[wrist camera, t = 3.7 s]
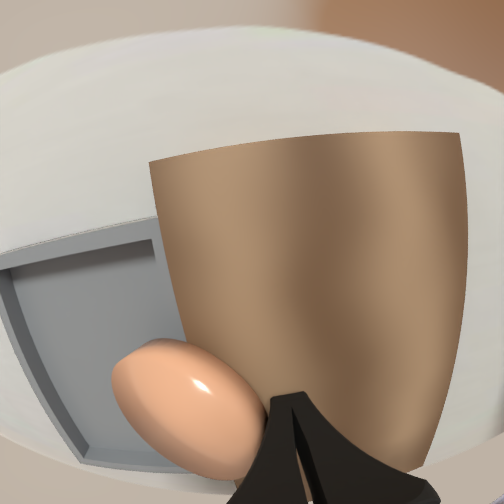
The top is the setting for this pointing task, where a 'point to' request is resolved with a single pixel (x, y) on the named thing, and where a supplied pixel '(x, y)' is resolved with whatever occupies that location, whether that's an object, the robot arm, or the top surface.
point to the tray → (90, 331)
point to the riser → (327, 274)
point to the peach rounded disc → (190, 408)
